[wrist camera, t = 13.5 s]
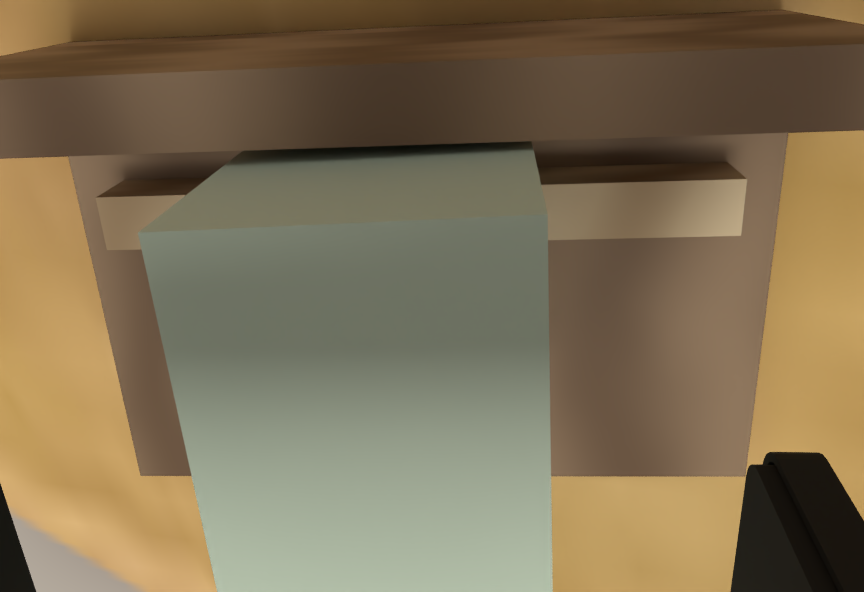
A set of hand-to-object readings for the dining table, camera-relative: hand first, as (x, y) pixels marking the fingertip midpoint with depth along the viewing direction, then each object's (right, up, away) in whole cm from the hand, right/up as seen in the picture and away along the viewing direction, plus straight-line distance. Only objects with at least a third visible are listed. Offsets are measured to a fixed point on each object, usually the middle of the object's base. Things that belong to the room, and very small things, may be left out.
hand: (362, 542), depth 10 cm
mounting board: (+1, +4, +15) cm, 16 cm away
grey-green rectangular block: (+1, +5, +13) cm, 14 cm away
